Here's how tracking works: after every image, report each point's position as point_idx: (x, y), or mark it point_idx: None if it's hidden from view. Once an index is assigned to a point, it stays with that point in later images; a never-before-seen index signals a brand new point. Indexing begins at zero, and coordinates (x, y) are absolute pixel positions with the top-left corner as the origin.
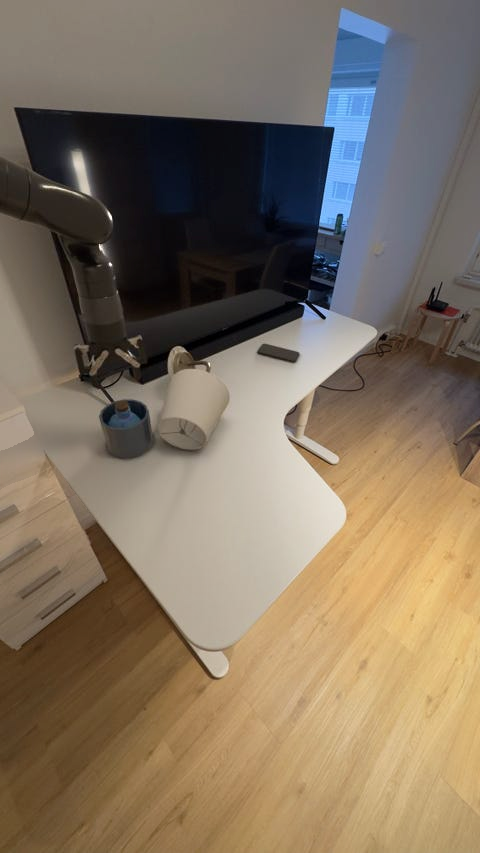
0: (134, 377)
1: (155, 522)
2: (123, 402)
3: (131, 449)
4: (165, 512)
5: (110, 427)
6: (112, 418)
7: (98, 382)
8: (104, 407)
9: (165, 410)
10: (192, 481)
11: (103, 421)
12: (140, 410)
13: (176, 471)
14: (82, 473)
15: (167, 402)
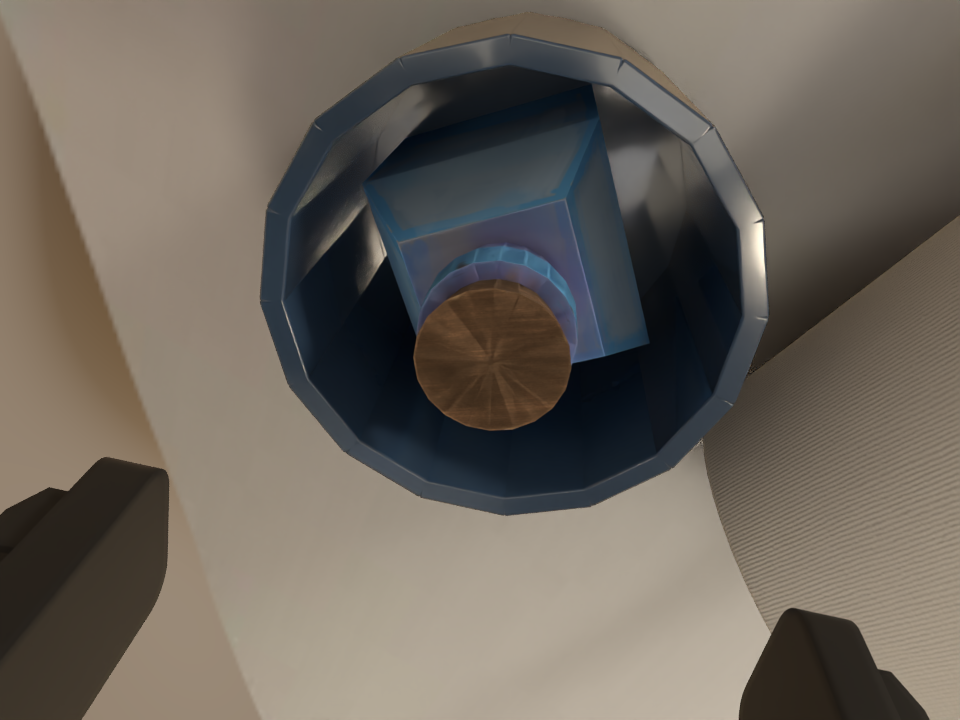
0: (786, 622)
1: (406, 708)
2: (527, 336)
3: None
4: (464, 698)
5: (324, 416)
6: (396, 247)
7: (88, 698)
8: (359, 87)
9: (847, 573)
10: (669, 647)
11: (321, 185)
12: (713, 194)
13: (641, 560)
14: (163, 284)
15: (949, 522)
